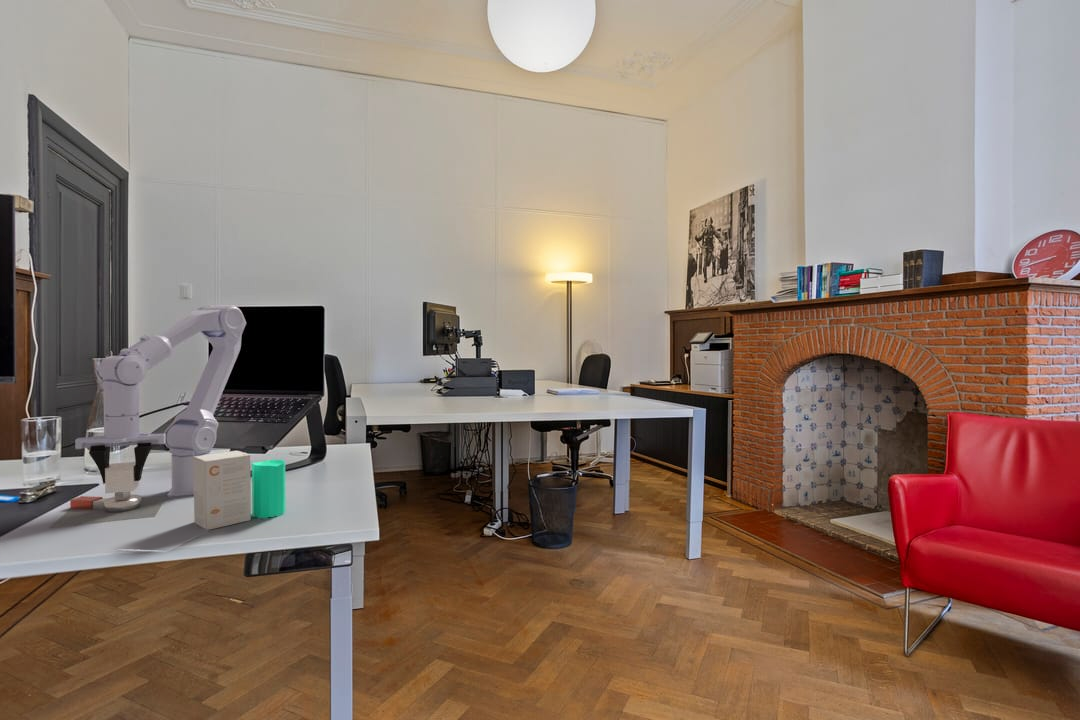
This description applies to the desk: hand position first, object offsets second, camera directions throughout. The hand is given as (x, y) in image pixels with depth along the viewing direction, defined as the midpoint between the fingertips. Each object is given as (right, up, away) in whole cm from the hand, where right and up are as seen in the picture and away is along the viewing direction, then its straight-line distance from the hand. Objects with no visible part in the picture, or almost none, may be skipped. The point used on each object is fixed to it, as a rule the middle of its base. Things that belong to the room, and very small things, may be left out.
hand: (122, 481), depth 112 cm
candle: (+30, -7, -1) cm, 31 cm away
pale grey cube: (0, -2, 0) cm, 2 cm away
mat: (-1, -6, -1) cm, 6 cm away
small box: (+24, -7, -6) cm, 26 cm away
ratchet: (-4, -6, 0) cm, 7 cm away
